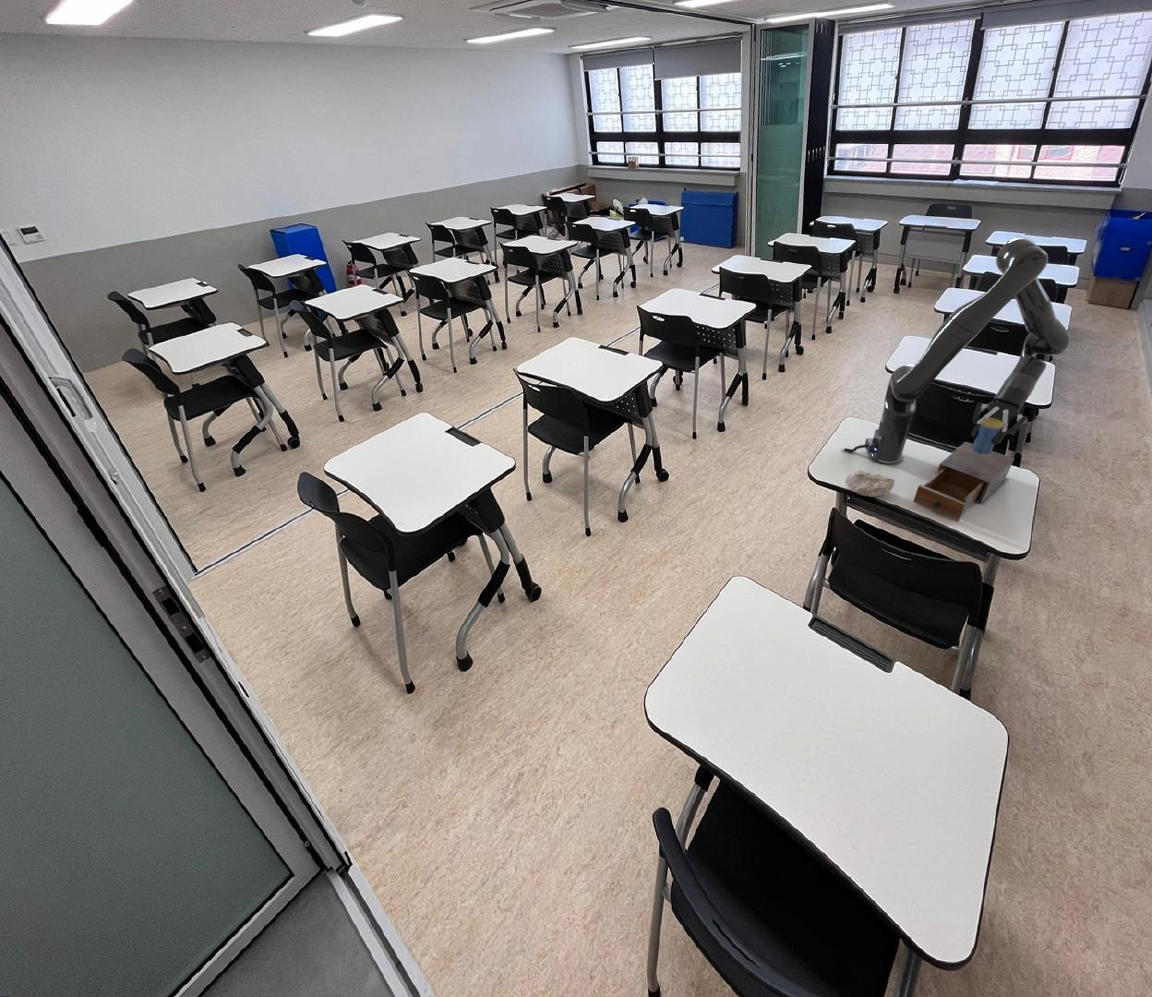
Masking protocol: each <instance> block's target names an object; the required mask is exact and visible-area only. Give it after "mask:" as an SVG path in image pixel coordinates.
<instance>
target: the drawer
mask: <svg viewBox="0 0 1152 997" xmlns="http://www.w3.org/2000/svg"><path fill="white" fill-rule="evenodd" d="M936 473H937V472H936ZM936 473H935V474H934V475H933V476H932V477H931V478H929V480H927V481H926V482H925V483H924V484H919V485H918V486H917V490H916V492H915V495H914V497H913V503H914V504H917V505H919V506H921V507H924V508H926V509H929V510H931V511H934V512H936V513H937V514H940V515H942V516H944V517H946V518H949V519H952V520H954V521H956V522H959V521H960V520H961V518H962V517H963V513H964V512H966V510H967V509H969V507H971V506H972V504H974V503H975V502H976V501H975V500H976V499H977V498H978V497H980V496H981V493H982V491H983V489H984V487H985V484H986V483H984V482H981V481H978V480H976V479H973V478H971V477H968V476H965V475H963V474H960V473H957V472H955V471H952V470H950V469H947V468H943V469H941V470H940V471H939V472H938V473H937V474H936Z"/></svg>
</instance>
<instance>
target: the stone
mask: <svg viewBox="0 0 1152 997" xmlns="http://www.w3.org/2000/svg"><path fill="white" fill-rule="evenodd" d="M895 480H896V479H895V478H892V477H889V476H883V475H881V474H880V473H877V474H873V473H871V472H868V471H863V470H860V469H857V470H854V471H853V473H852V474H849V475H847V476H846V477H845V479H844V483H845V484H846V485H847V487H848V488H849V490H850V491H851V492H852V493H855V494H857V495H859V496H864V497H870V498H872V497H873V498H875V497H883V496H887V495H888V494H889V493H890V491H891V490H892V489H893V488H894V485H895Z"/></svg>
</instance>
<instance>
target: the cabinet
mask: <svg viewBox="0 0 1152 997" xmlns="http://www.w3.org/2000/svg"><path fill="white" fill-rule="evenodd" d="M972 446H973V443H970V442H968V441H964V442H963V443H962V444H961V445H960V446H958V447H957V448H956V449H955V450H954V451H953V452H951V453H950V454H949V455H948V456H947V457H946V458H945V459H943V460H942V461H941V462H940V463H939V465H938V467H937V470H936V473H935V475H936V474H937V473H938V472H939V471H940V470H941V469H943V468H947V469H950V470H952V471H955V472H957V473H960V474H963V475H965V476H968V477H971V478H973V479H976V480H978V481H981V482H984V483H986V484H985V487H984V489H983V491H982V493H981V496H980V497H978V498H977V499H976V500H975V501H974V502H977V503H979V504H982V503H983V502H984V501H985V500H986V499H987V498H988V497H989V496H990V495H991V494H992V493H993V492H994V491H995V490H996V489H997V488H998V487H999V486H1000V485H1001V484H1002V483H1003V482H1004V481H1005V480H1006V478H1007V476H1008V474H1009V472H1010V469H1011V467H1012V465H1013V463H1014V462H1015V458H1014V457H1011V456H1008V455H1006V454H1003V453H999V452H997V451H993V450H992V451H991V453H989V454H979V453H976V452H974V451H973V450H972Z"/></svg>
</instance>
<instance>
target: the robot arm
mask: <svg viewBox="0 0 1152 997" xmlns="http://www.w3.org/2000/svg"><path fill="white" fill-rule="evenodd" d="M995 261H996V262H995V263H996V264H995V265H996V267H997V269H998V270H999V272H1000V273H1001V274H1002V275H1001V276H1000V277H999V279H998V280H997V281H996V282H995V283H994V284H993V285H992V286H991V287H990V288H989V289H987V291H985V292H984V293H982V294H981V295H979V296H978V297H976V298H974V299H972V300H970V301H968V302H966V303H965V304H962V305H961V306H959V307H958V308H956V309H955V310H954V311H953V312H952V313H951V314H950V315H949V316H948V317H947V318H946V319H945V320H944V322H943V323H942V324H941V325H940V326H939V327H938V329H937V330H936V331H935V333H934V334H933V337H932V339H931V340H930V342H929V344H928V345H927V348H926V350H925V351H924V353H923V354H922V356H921V358H920V359H919V360H918V361H917V363H915V365H913V364H905V365H902V366H899V367H898V368H896V369H895V370H894V371H893V372H892V374H891V376H890V377H889V380H888V385H887V388H886V393H885V396H884V401H883V402H884V404H883V410H882V414H881V417H880V420H879V424H878V428H877V429H875V430H874V434H873V437H870V438H869V437H867V438H865V441H864V444H860V445H855V447H853V448H846V447H845V448H844V450H843V451H844V452H847V453H854V452H856V451H857V450H859V449H864V448H865V450H866V452H867V453H868V454H870V457H871V458H872V459H873V462H878V463H881V464H887V465H893V464H897V463H899V462H901V460H902V456H903V452H904V448H905V445H906V442H907V439H908V435H909V433H910V429H911V426H912V423H913V420H914V416H915V413H916V409H917V399H919V398H920V397H921V396H922V395H923V394H924V393H925V392H926V391H927V390H928V388H929V387H930V386H931V385H932V383H933V382H934V380H936V378H937V377H938V376H939V374H940V373H941V372H942V371H943V370H944V369H945V368H946V367H947V365H949V364H950V363H951V362H952V361H953V360H954V359H955V358H956V357H957V355H958V354H960V353H961V351H963V349H964V348H965V347H966V346H967V345H969V344H970V342H971V341H973V339H974V338H975V337H976V336H977V335H978V334H979V333H980V332H981V331H982V330H983V329H984V328H985V327H986V325H987V324H988V323H989V322H990V321H991V320H992V319H993V318H995V316H996V315H998V314H999V312H1000V311H1002V310H1003V308H1004V307H1005V306H1007V305H1008V303H1010V302H1011V301H1012V300H1013V299H1014V298H1015V300H1016V303H1017V306H1018V309H1019V312H1020V315H1021V318H1022V321H1023V324H1024V327H1025V329H1026V331H1027V332H1028V333H1029V334H1027V335H1026V337H1025V339H1024V342H1023V346H1022V350H1021V353H1020V356H1019V359H1018V362H1017V364H1016V365H1015V366H1014V368H1013V370H1012V372H1011V373H1010V374H1009V376H1008V377H1007V378H1006V379H1005V380H1004V382H1003V383H1002V385H1001V387H1000V388H999V390H998V391H997V393H996V394H995V396H994V398H993V399H992V401H991V402H989V403H982V402H980V401H979V402H977V403H976V406H975V409H974V411H973V414H972V417H971V420H972V422H973V424H975V425H974V427H973V429H972V430H971V433H970V434H971V437H972V438H974V439H975V438H976V436H977V433H978V431H979V428H980V425H981V421H982V419H984V418H989V417H990V418H995V419H998V420H1001V421H1002V422H1003V427H1002V428H1001V430H1000V432H999V433H998V435H997V436H996V438H995V439H994V441H993V444H994V446H995V445H999V444H1001V442H1002V440H1003V439H1004V438H1005V436H1006V435H1010V436H1013V435H1015V434H1016V433H1017V432H1018V431H1019V430H1020V429H1021V428H1022V427H1023V426H1024V425H1025V424H1026V423H1027V422H1028V416H1027V415H1022V414H1021V413H1020V412H1021V409H1022V408H1023V406H1024V404H1025V403H1026V402H1027V400H1028V398H1029V397H1030V396H1031V394H1032V392H1033V390H1034V389H1035V387H1036V385H1037V383H1038V381H1039V380H1040V378H1041V377H1042V374H1043V373H1044V372H1045V370H1046V368H1047V363H1046V362H1045V360H1043V359H1042V358H1039V357H1036V356H1037V355H1038V354H1039V355H1050V356H1058V355H1061V354H1063V353H1064V352H1066V351H1067V350H1068V349H1069V347H1070V344H1071V336H1070V333H1069V331H1068V330H1067V328H1066V327H1065V325H1064V324H1063V323H1062V322H1061V321H1060V320H1059V319H1058V318H1057V317H1056V313H1055V310H1054V307H1053V304H1052V301H1051V298H1050V297H1049V295H1048V294H1047V292H1046V291H1045V288H1044V287H1043V285H1042V283H1041V281H1040V280H1039V278H1038V277H1039V276H1040V275H1041V274H1042V272H1043V271H1044V270H1045V268H1046V267H1047V265H1048V262H1049V255H1048V253H1047V252H1046V251H1045V250H1044V249H1043V248H1041V247H1040V246H1039V245H1038V244H1036V243H1035V242H1034V241H1032V240H1030V239H1028V238H1014V239H1012V240H1010V241H1008V242H1006V243H1005V244H1004V245H1003V246H1002V247H1001V248H1000V249H999V250H998V253H997V255H996V259H995ZM985 409H987V413H986V414H984V415H983V417H982V418H980V415H981V412H983V411H985ZM979 418H980V419H979ZM1014 419H1016V422H1015V423H1014V425H1012V426H1011V428H1008V427H1009V422H1010V421H1012V420H1014Z"/></svg>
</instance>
